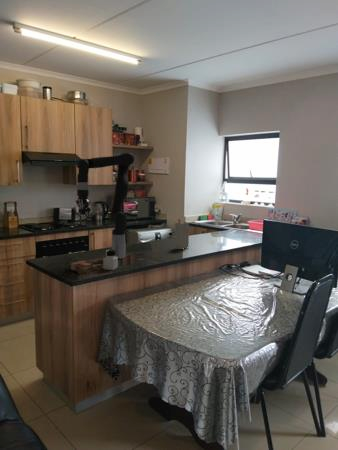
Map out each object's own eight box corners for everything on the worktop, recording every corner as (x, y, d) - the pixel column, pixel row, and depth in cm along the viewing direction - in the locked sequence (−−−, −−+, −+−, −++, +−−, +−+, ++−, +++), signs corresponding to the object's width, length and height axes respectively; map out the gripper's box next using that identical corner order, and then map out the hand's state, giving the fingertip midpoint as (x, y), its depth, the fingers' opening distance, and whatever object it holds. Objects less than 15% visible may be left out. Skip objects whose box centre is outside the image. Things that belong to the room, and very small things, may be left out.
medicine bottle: (117, 267, 232) (118, 249, 230) (113, 270, 225) (113, 251, 223) (107, 266, 233) (107, 248, 231) (103, 269, 226) (103, 250, 225)
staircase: (188, 248, 296) (189, 218, 292) (179, 250, 287) (180, 219, 283) (181, 247, 301) (182, 217, 297) (172, 249, 292) (173, 218, 289)
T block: (83, 266, 232) (83, 260, 232) (94, 269, 226) (94, 263, 225) (70, 269, 224) (70, 263, 224) (82, 272, 218) (82, 266, 217)
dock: (93, 266, 232) (93, 262, 232) (102, 268, 227) (102, 264, 227) (72, 271, 219) (72, 267, 218) (80, 274, 214) (80, 269, 213)
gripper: (93, 189, 239) (93, 215, 242) (80, 188, 247) (81, 213, 250) (84, 189, 234) (85, 215, 236) (72, 188, 241) (72, 214, 244)
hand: (83, 214), depth 243 cm, fingers closed
